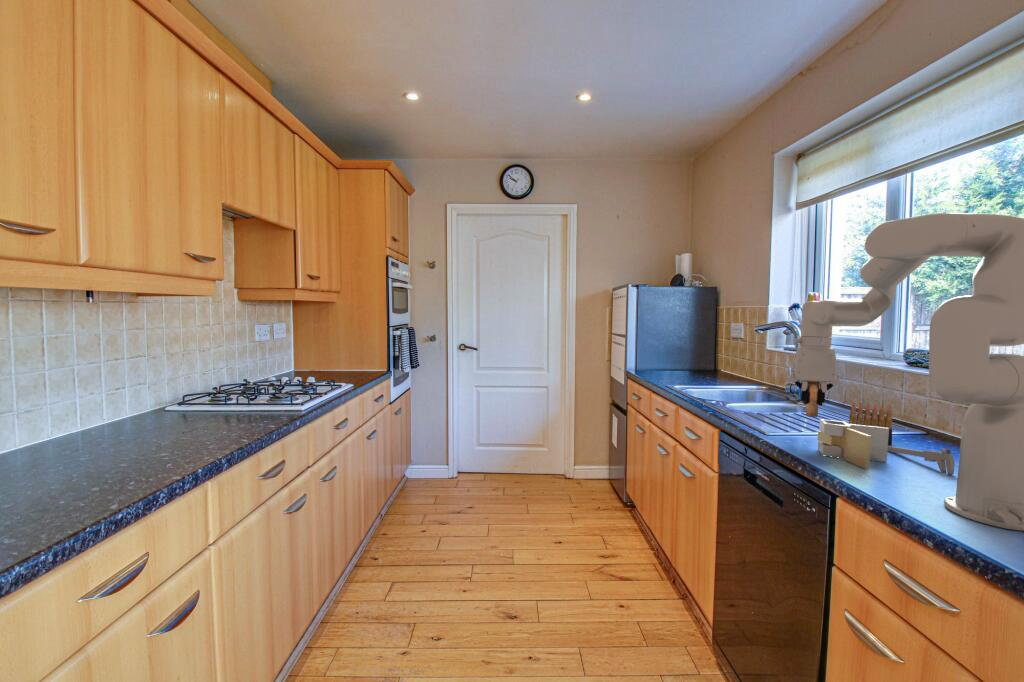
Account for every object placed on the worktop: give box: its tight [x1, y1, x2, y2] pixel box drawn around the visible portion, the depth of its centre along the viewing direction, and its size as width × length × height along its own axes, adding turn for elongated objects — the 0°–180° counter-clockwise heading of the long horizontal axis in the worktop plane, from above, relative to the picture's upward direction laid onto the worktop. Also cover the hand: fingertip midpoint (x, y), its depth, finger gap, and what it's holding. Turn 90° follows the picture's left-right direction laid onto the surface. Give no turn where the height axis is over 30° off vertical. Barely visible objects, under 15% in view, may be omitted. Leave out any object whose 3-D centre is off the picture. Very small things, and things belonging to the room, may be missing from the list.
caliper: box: [887, 445, 956, 475], centre depth 115 cm, size 20×1×6 cm, turn 178°
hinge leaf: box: [817, 428, 871, 470], centre depth 114 cm, size 14×5×8 cm, turn 0°
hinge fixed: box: [817, 418, 889, 463], centre depth 116 cm, size 6×14×9 cm, turn 64°
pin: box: [805, 381, 820, 418], centre depth 128 cm, size 3×3×12 cm
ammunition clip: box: [848, 402, 893, 446], centre depth 131 cm, size 11×2×12 cm, turn 68°
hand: (812, 403), depth 128 cm, fingers closed on pin, 3 cm apart
